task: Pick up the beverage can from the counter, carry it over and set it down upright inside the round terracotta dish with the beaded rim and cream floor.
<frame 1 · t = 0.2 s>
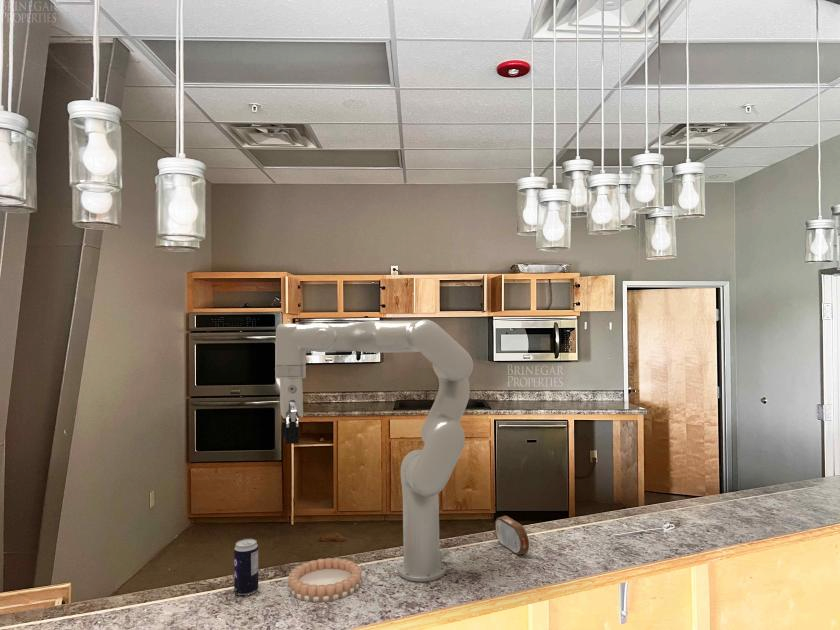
hand: (290, 440, 136), 37 cm above the counter, tool pointing down, fingers open, 9 cm apart
beverage can: (246, 592, 133), on the counter
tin: (511, 550, 157), on the counter
round dish: (325, 584, 136), on the counter
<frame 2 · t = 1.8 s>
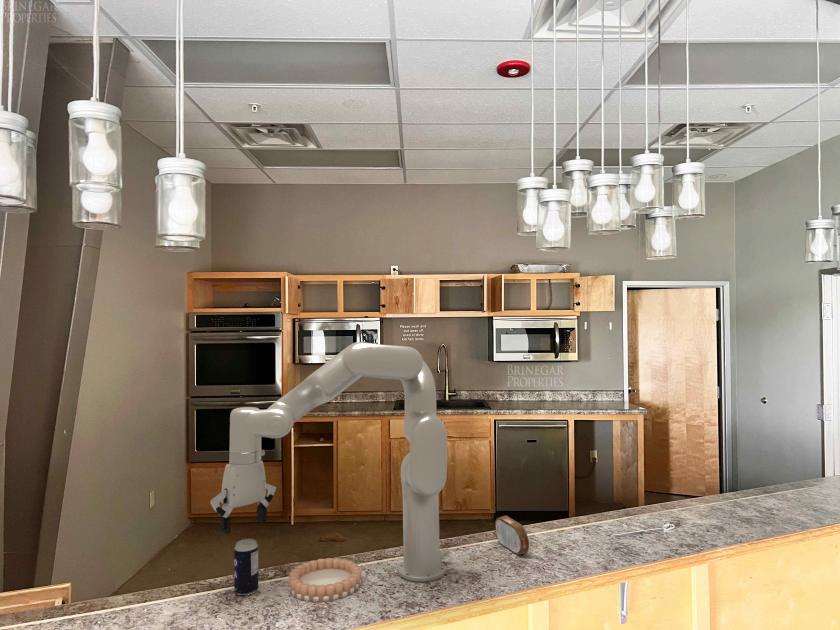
hand: (244, 527, 134), 16 cm above the counter, tool pointing down, fingers open, 9 cm apart
nothing on the counter moved.
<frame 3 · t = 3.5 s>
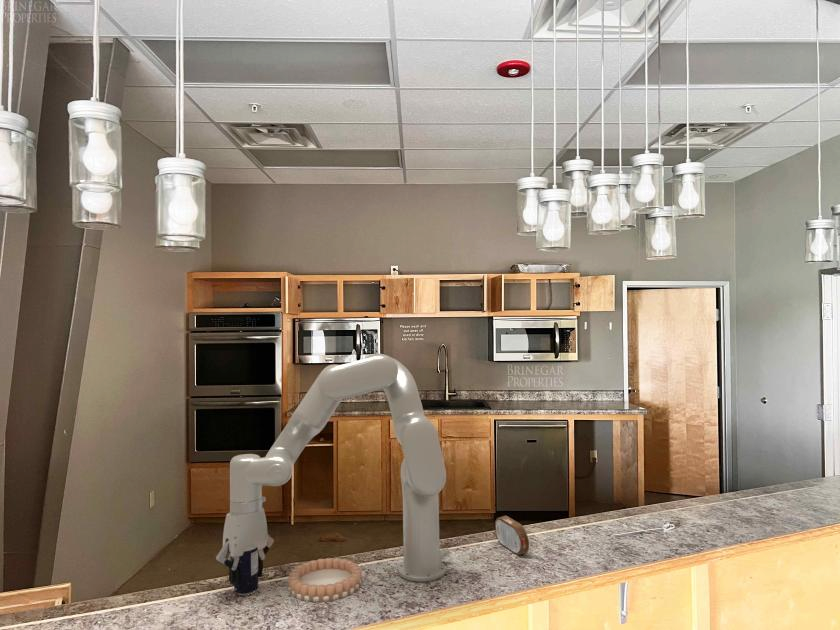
hand: (246, 579, 133), 3 cm above the counter, tool pointing down, fingers closed on beverage can, 5 cm apart
beverage can: (246, 592, 133), on the counter, touching gripper
everything else where it was.
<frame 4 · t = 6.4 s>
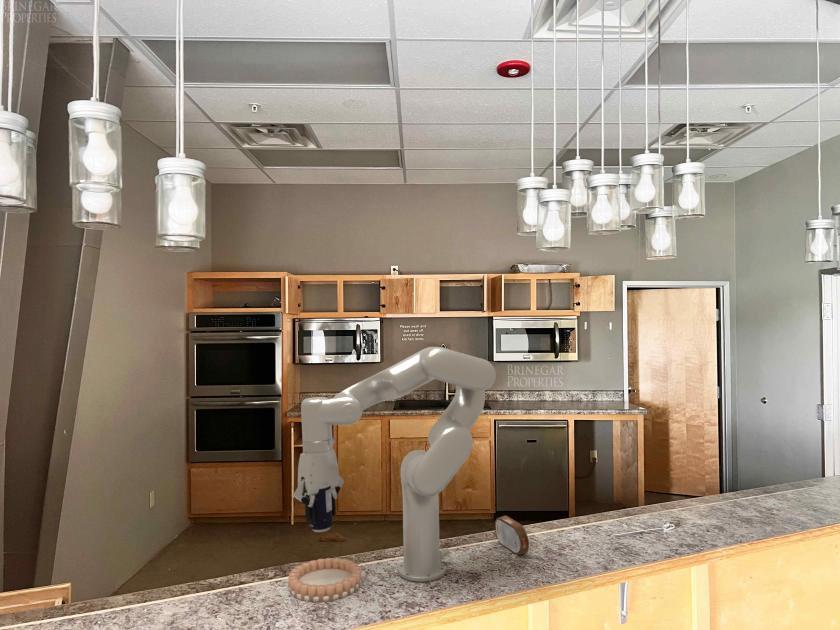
hand: (321, 517, 137), 17 cm above the counter, tool pointing down, fingers closed on beverage can, 5 cm apart
beverage can: (321, 530, 137), point 14 cm above the counter, touching gripper
everything else where it was.
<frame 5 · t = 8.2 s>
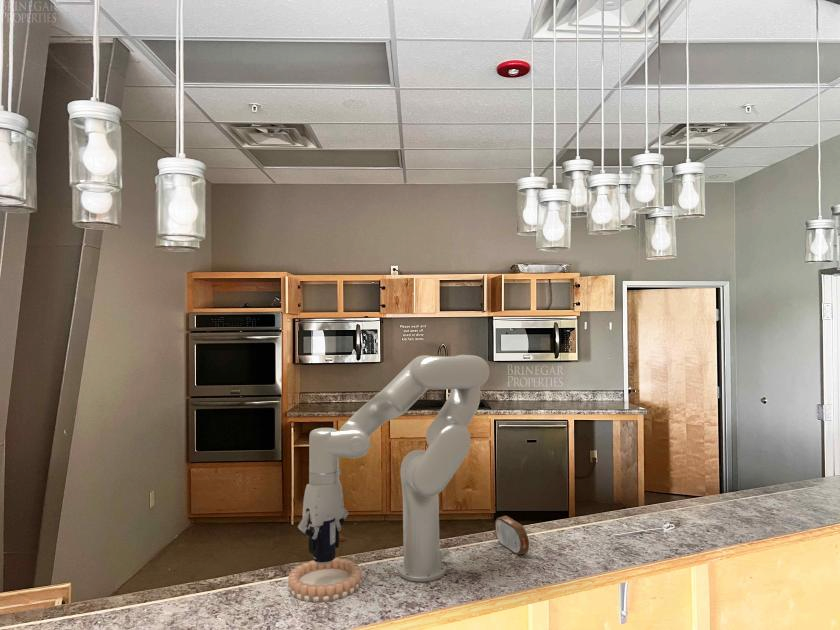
hand: (324, 549, 137), 9 cm above the counter, tool pointing down, fingers closed on beverage can, 5 cm apart
beverage can: (324, 562, 137), point 6 cm above the counter, touching gripper
everything else where it was.
when the fingers open (5 cm above the counter, at t = 9.3 s): beverage can drops 1 cm, resting on round dish.
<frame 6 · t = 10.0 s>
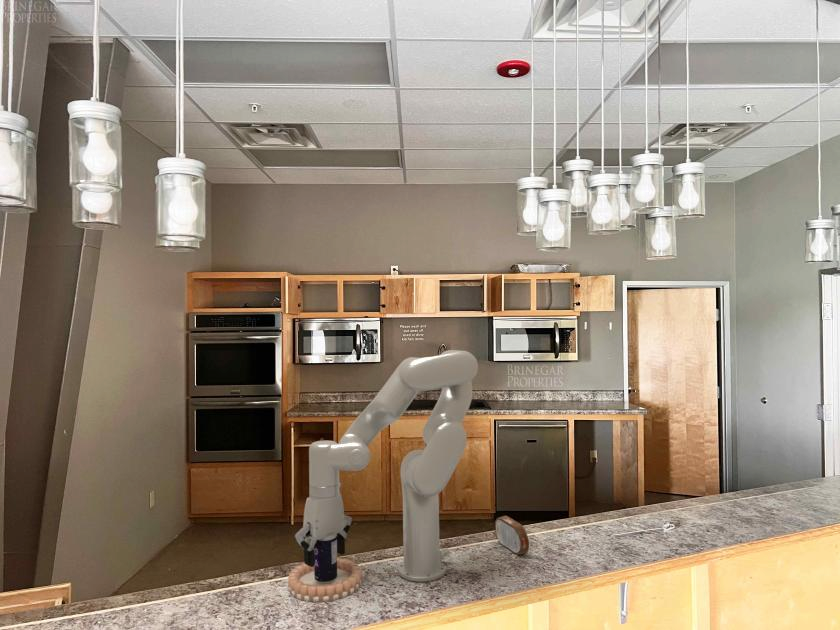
hand: (325, 559, 137), 6 cm above the counter, tool pointing down, fingers open, 9 cm apart
beverage can: (326, 581, 136), point 1 cm above the counter, touching round dish
everything else where it was.
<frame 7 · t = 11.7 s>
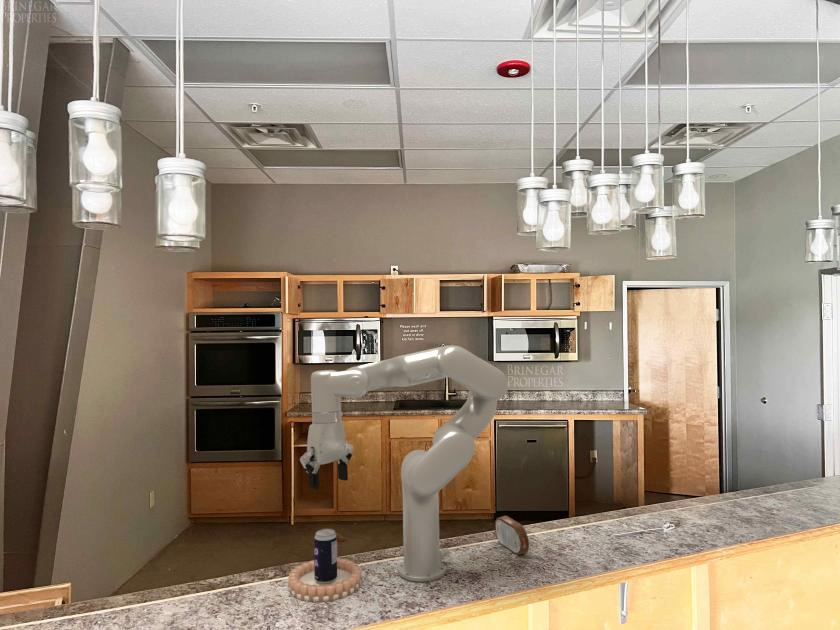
hand: (329, 484, 140), 24 cm above the counter, tool pointing down, fingers open, 9 cm apart
nothing on the counter moved.
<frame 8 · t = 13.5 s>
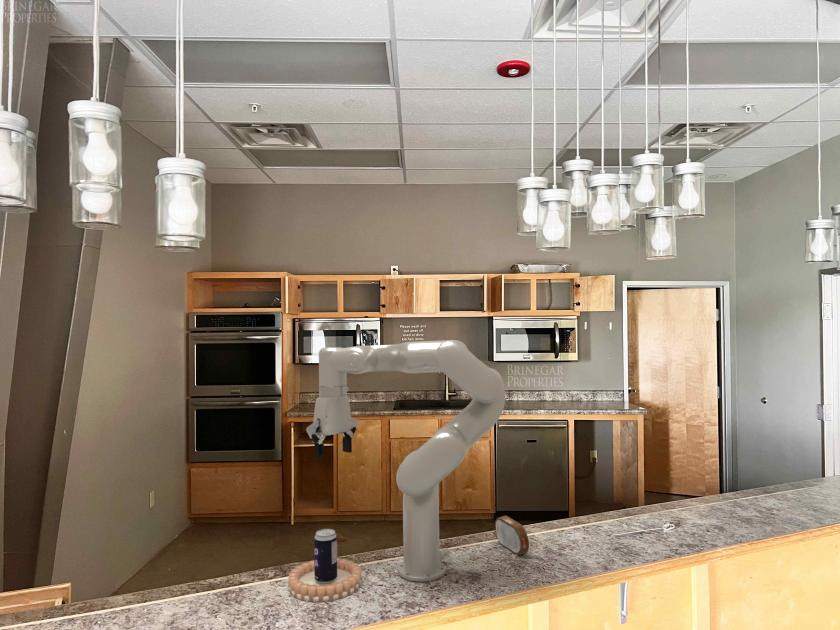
hand: (333, 454, 148), 30 cm above the counter, tool pointing down, fingers open, 9 cm apart
nothing on the counter moved.
at the end: beverage can inside the target area on the round dish (0.1 cm from its centre), point 0.8 cm above the round dish's base; beverage can tilted 0°; the gripper is holding nothing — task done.
